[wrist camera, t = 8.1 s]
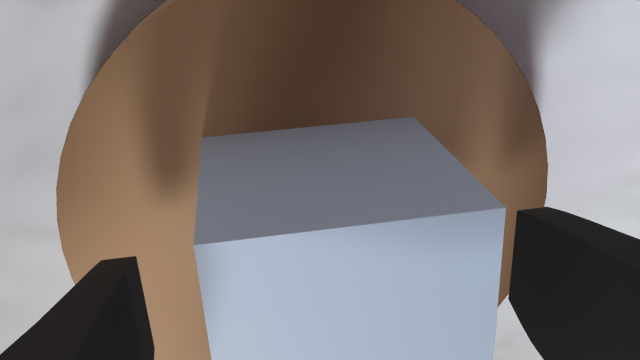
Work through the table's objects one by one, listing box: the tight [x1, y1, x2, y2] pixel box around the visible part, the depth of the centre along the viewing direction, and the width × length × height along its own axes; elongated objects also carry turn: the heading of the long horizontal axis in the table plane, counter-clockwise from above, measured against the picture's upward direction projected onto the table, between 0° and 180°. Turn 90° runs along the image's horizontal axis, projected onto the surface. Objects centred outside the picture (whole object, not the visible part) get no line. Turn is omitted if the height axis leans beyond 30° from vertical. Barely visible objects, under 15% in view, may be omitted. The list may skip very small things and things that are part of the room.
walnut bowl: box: [56, 0, 548, 360], centre depth 14 cm, size 11×11×2 cm
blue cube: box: [194, 117, 506, 360], centre depth 11 cm, size 4×4×4 cm
